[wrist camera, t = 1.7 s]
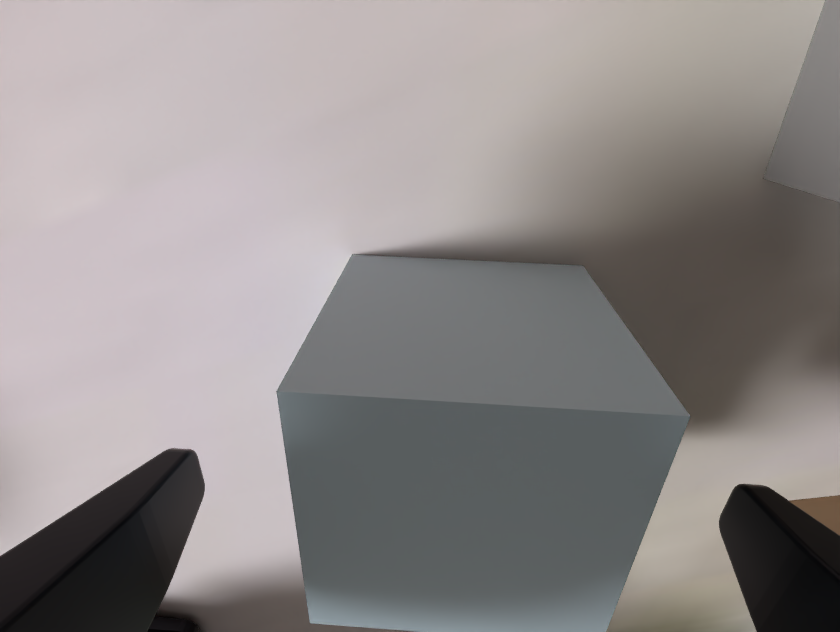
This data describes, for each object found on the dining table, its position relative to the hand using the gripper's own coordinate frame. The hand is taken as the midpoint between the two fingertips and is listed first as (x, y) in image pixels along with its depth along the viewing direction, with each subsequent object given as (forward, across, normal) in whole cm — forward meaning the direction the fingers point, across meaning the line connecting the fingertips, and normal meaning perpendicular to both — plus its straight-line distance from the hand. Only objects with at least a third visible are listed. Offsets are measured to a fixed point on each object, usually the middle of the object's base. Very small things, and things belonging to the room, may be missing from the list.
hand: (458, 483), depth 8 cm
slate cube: (+4, 0, 0) cm, 4 cm away
